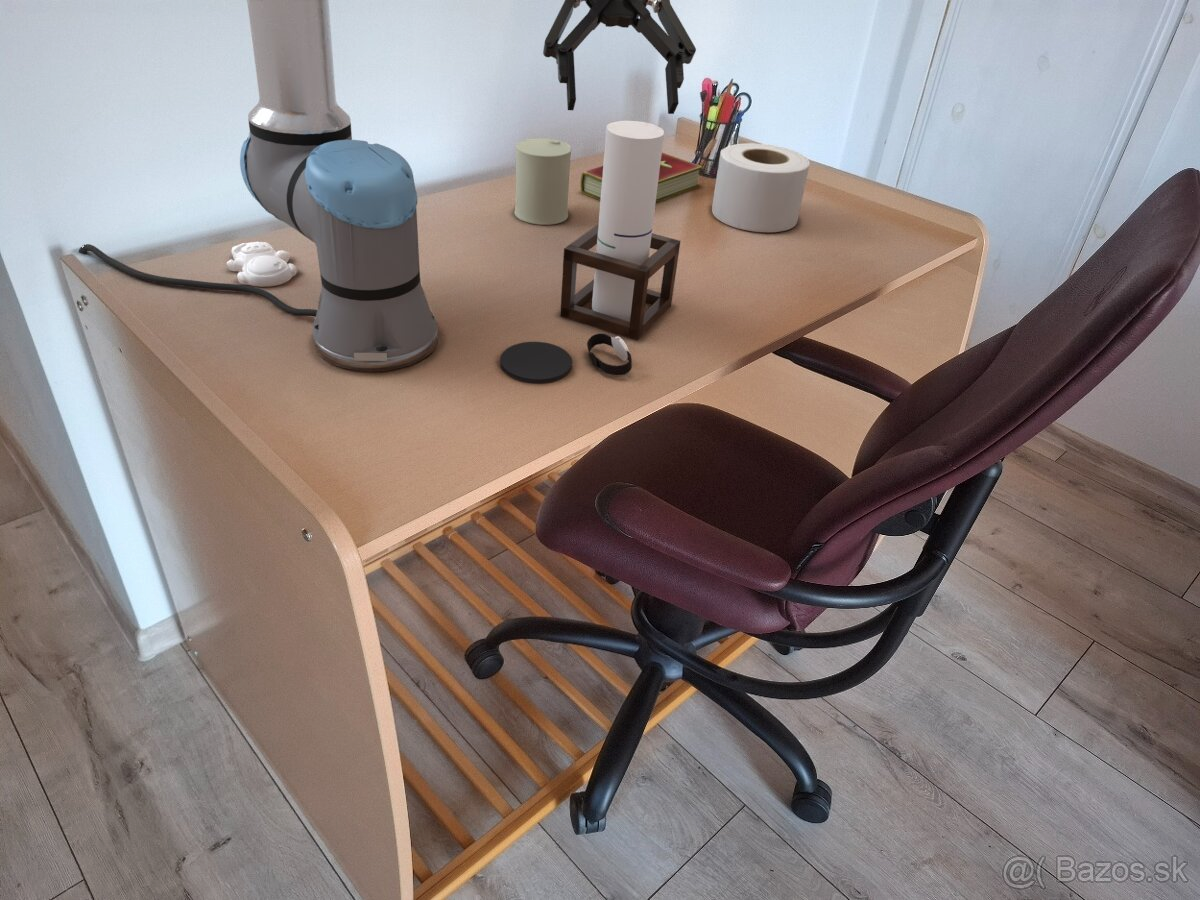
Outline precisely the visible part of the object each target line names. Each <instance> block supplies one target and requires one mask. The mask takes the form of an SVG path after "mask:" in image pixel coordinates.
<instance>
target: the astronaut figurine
mask: <svg viewBox="0 0 1200 900" xmlns="http://www.w3.org/2000/svg"><path fill="white" fill-rule="evenodd" d="M231 255H232V258H233V259H232V258H231V259H229V260H228V261H227V262H226V267H227V268H228V270H229V271H231V272H237V281H238V283H239V284H240V285H245V286H251V287H257V288H259V287H261V288H265V287H275V286H280V285H282V284H285V283H287V282H289V281H290V280H292V278H293V277H295V276H296V275H297V272H298V270H297V267H296V265H295V264H293V263H288V262H289V261H290V257H291V254H290V253H289V252H288V250H287V251H286V250H280V249H279V250H278V251H276V250H275V249H274V248H273V246H272V245H271V244H270V243H268V242H267V241H250V242H242V243H240V244H238V245H237V244H236V245H233V247H231Z"/></svg>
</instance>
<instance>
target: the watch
mask: <svg viewBox="0 0 1200 900" xmlns="http://www.w3.org/2000/svg"><path fill="white" fill-rule="evenodd" d="M599 345H606V346H609V347H611V348H613V350H614V352H615V353H616V355H617V357H618V358H619V359H620V360H622V361H624V362H626V361H628V362H627V363H624V364H619V365H615V364H614V365H613V364H609V363H606V362H604V361H602V360H601V359H600V358H598V357H597V356H596V355H595V354H594V352H592V351H591V350H592V349H593V348H594V347H596V346H599ZM586 346H587V352H588V358H589V360H590V361H591V363H592V365H593V366H594V367H595V368H596V369H599V370H601V371H602V372H603V373H605V374H607V375H610V376H623V375H627V374H628V373H630V372H631V370H632V369H633V362H632V361H633V360H632V354H631V353H630V350H629V347H628V345H627V344H626V342H625V340H624V339H623V338H622V337H620V336H615V337H612V336H611V335H609V334H606V333H602V332H601V333H600V332H599V333H596V334H593V335H591V336H590V337H589V338H588V340H587V341H586Z"/></svg>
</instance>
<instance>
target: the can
mask: <svg viewBox="0 0 1200 900" xmlns="http://www.w3.org/2000/svg"><path fill="white" fill-rule="evenodd" d="M572 151H573V149H572V147H571V146H570V144H568V143H566V142H564V141H561V140H558V139H553V138H548V137H547V138H546V137H531V138H525V139H521V140H520V141H517V142H516V144H515V153H516V154H515V155H516V157H515V158H516V159H515V166H516V167H515V205H514V216H515V217H516V218H517V219H518V220H520V221H521V222H525V223H528V224H532V225H539V226H551V225H557V224H560V223H563V222H565V221H566V220H567V219H568V217H569V210H568V209H569V187H570V170H571V158H572V157H571V156H572Z"/></svg>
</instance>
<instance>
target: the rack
mask: <svg viewBox="0 0 1200 900" xmlns="http://www.w3.org/2000/svg"><path fill="white" fill-rule="evenodd" d="M598 225H599V223H598V224H596V225H595V226H594V227H592V228H591V229H589V230H588V231H587V232H585V233H584V234H582V235H580V236H579V237H577V238H576V239H575V240H574V241H572V242H571V243H569V244H568V245H566V246H565V247H564V248H563V258H562V259H563V260H562V279H561V294H560V295H561V297H560V315H559V317H561V318H566V319H568V320H572V321H574V322H578V323H580V324H584V325H587V326H591V327H594V328H597V329H600V330H603V331H606V332H610V333H613V334H616V335H618V336H622V337H626V338H629V339H632V340H635V341H639V339H641V337H642V336H643V335H644V334H645V333H646V332H647V331H648V330H649V329H650V328H651V327H652V326H653V325H654V324H655V323H656V322H657V321H658V320H659V319H661V317H662V316H663V315H664V314H665V313H666V312H667V311H668V310H669V309H670V308H671V307H672V303H673V295H674V289H675V283H676V275H677V269H678V262H679V254H680V249H681V240H679V239H675V238H671V237H667V236H664V235H660V234H657V233H653V232H652V236H651V244H650V249H652V250H656V251H655V252H653V254H651V255H649V258H648V259H647V260H646V261H645V262H643V263H642V264H641V265H638V264H634V263H631V262H627V261H624V260H620V259H617V258H613V257H610V256H606V255H602V254H599V253H596V251H591V249H592V248H594V247H595V246H597V237H598ZM578 265H581V266H584V267H588V268H591V269H594V270H595V269H598V270H601V271H605V272H608V273H612V274H615V275H619V276H622V277H626V278H629V279H632V280H635V281H634V290H633V299H632V308H631V317H630V322H629V321H625V320H622V319H619V318H616V317H612V316H609V315H606V314H603V313H599V312H596V311H593V310H592V309H590V308H587V307H585V306H587V304H588V303H590V302H591V301H592V298H593V286H594V278H593V279H592V280H590V281H589V282H588V283H587V284H586V285H585V286H583V287H582V288H581V289H579V290H578V291H577V292H576V284H577V271H578ZM661 268H663V271H662V273H663V274H662V280H661V287H660V291H655V290H653V289H648V287H649V286H648V285H649V279H651V278H652V277H653V276H654V275H655V274H656V273H657V272H658V271H659V270H660V269H661ZM646 305H650V307H648V308H647V309H646Z"/></svg>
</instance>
